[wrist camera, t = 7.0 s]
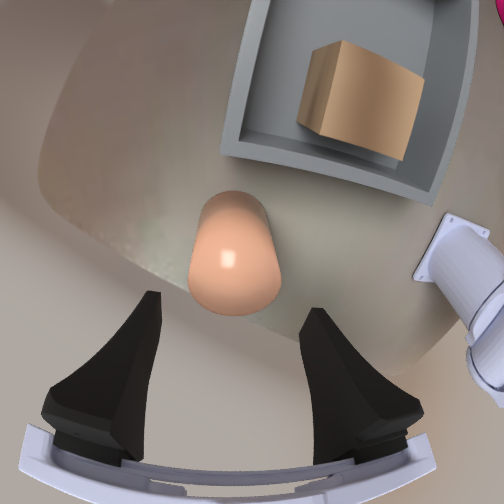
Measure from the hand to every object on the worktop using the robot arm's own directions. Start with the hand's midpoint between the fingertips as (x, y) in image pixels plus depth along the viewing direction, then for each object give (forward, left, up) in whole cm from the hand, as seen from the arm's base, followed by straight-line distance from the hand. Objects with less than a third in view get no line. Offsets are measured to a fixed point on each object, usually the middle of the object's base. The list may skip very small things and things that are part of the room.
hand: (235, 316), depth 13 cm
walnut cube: (-5, -11, -9) cm, 15 cm away
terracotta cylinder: (0, 0, -9) cm, 9 cm away
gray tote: (-5, -15, -9) cm, 18 cm away
